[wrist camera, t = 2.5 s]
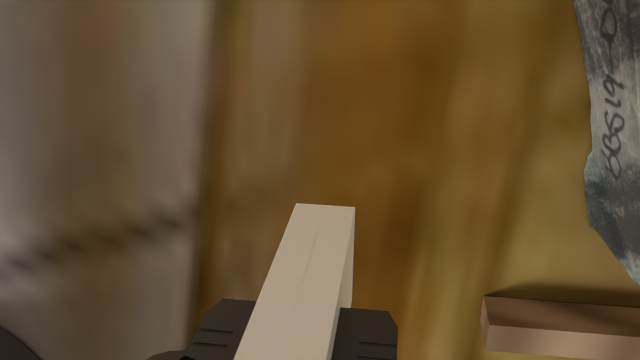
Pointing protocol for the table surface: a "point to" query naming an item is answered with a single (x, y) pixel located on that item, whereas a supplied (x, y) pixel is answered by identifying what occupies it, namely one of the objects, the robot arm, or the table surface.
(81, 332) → the table surface
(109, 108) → the table surface
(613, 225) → the stone block
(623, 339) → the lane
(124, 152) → the table surface
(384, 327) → the robot arm
